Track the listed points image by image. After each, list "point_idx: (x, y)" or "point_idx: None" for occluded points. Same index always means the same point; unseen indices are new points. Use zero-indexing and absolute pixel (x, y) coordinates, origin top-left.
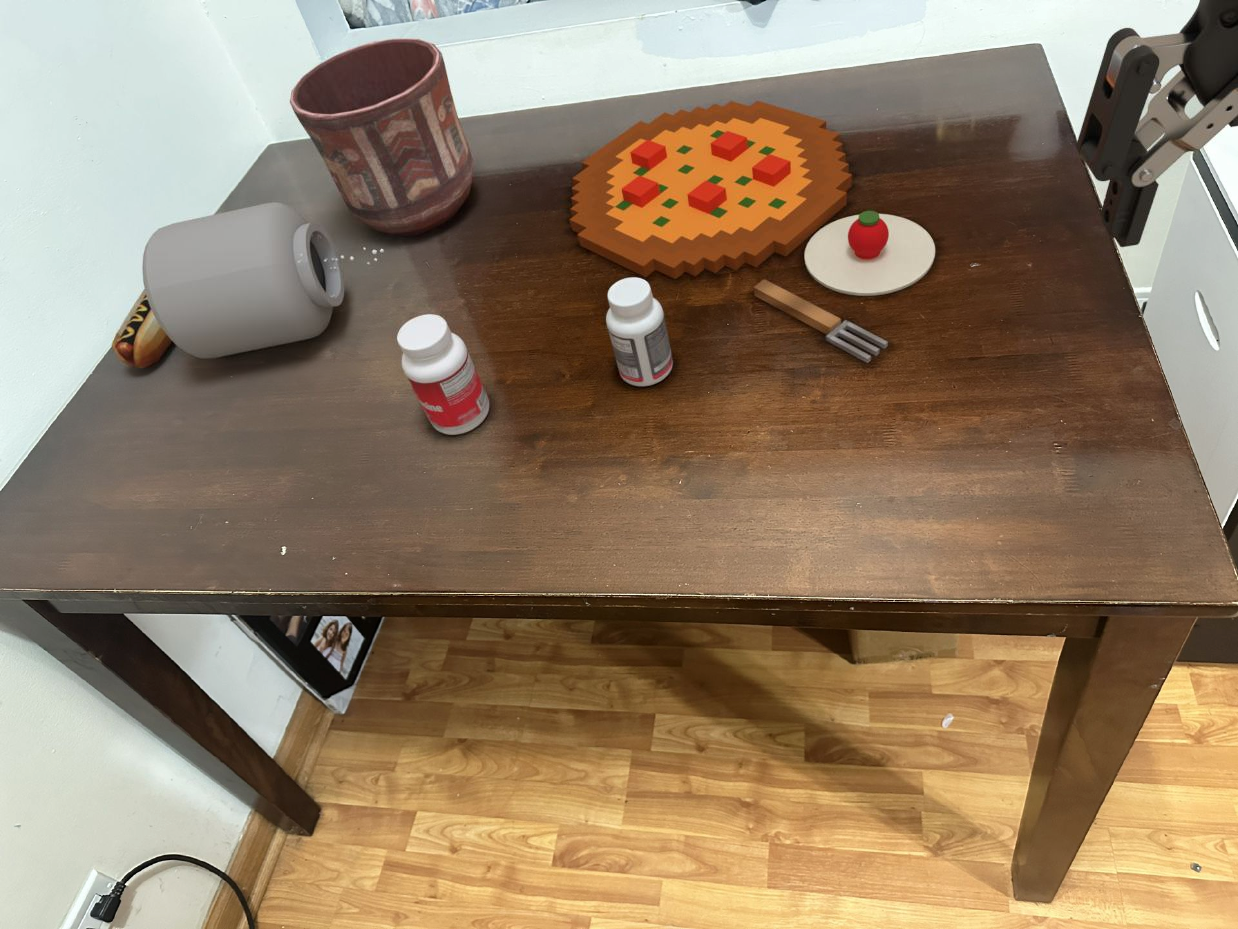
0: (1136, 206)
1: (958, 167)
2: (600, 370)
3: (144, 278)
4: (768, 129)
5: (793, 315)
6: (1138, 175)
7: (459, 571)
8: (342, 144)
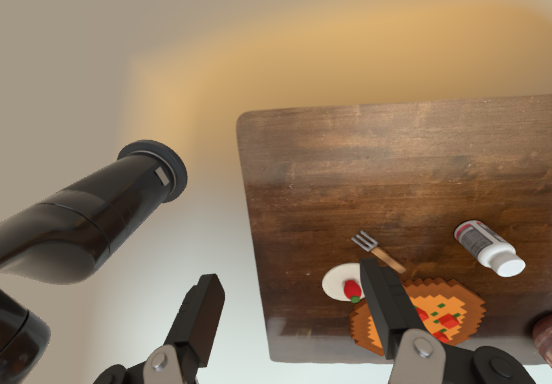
0: (395, 300)
1: (305, 317)
2: (492, 230)
3: None
4: (380, 343)
5: (389, 255)
6: (434, 348)
7: None
8: None
